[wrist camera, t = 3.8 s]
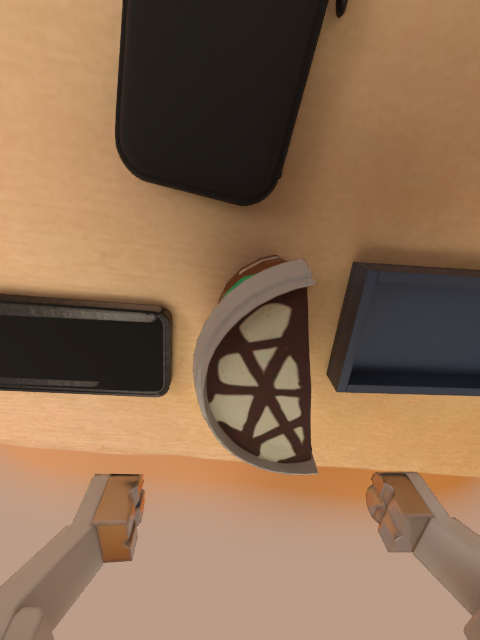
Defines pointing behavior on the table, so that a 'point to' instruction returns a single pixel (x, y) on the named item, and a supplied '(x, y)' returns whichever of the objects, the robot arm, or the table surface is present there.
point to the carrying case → (213, 91)
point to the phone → (84, 347)
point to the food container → (260, 367)
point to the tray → (408, 331)
